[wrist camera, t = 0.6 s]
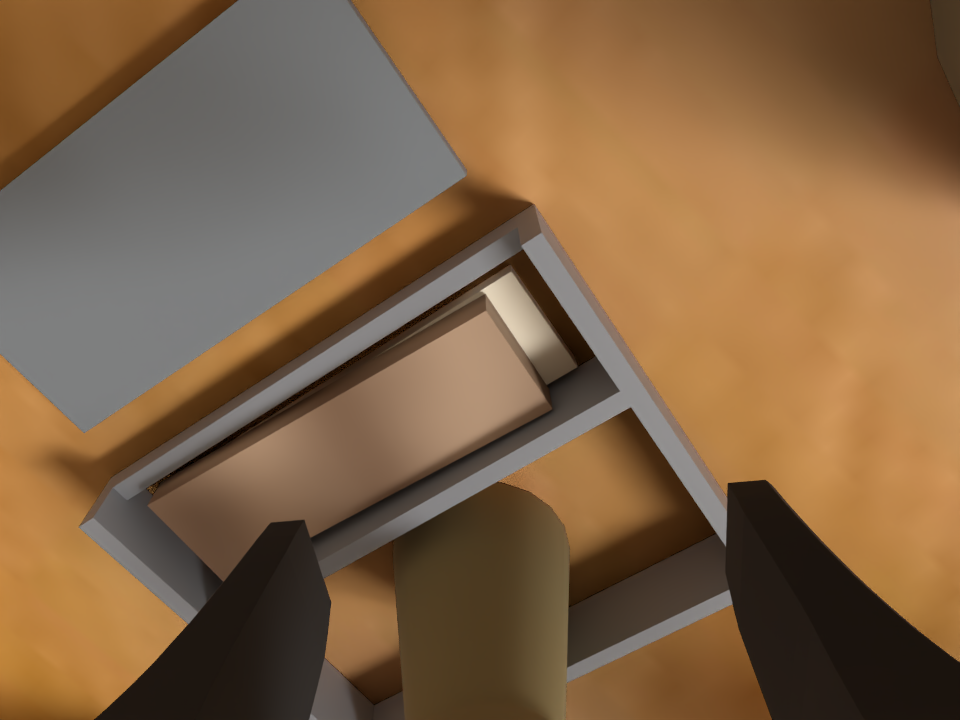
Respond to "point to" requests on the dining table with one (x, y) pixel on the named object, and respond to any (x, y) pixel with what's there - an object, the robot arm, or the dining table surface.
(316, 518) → the top offcut
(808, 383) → the dining table surface
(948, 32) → the book
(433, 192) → the slate mat
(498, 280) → the bottom offcut
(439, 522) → the cork
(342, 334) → the rack
